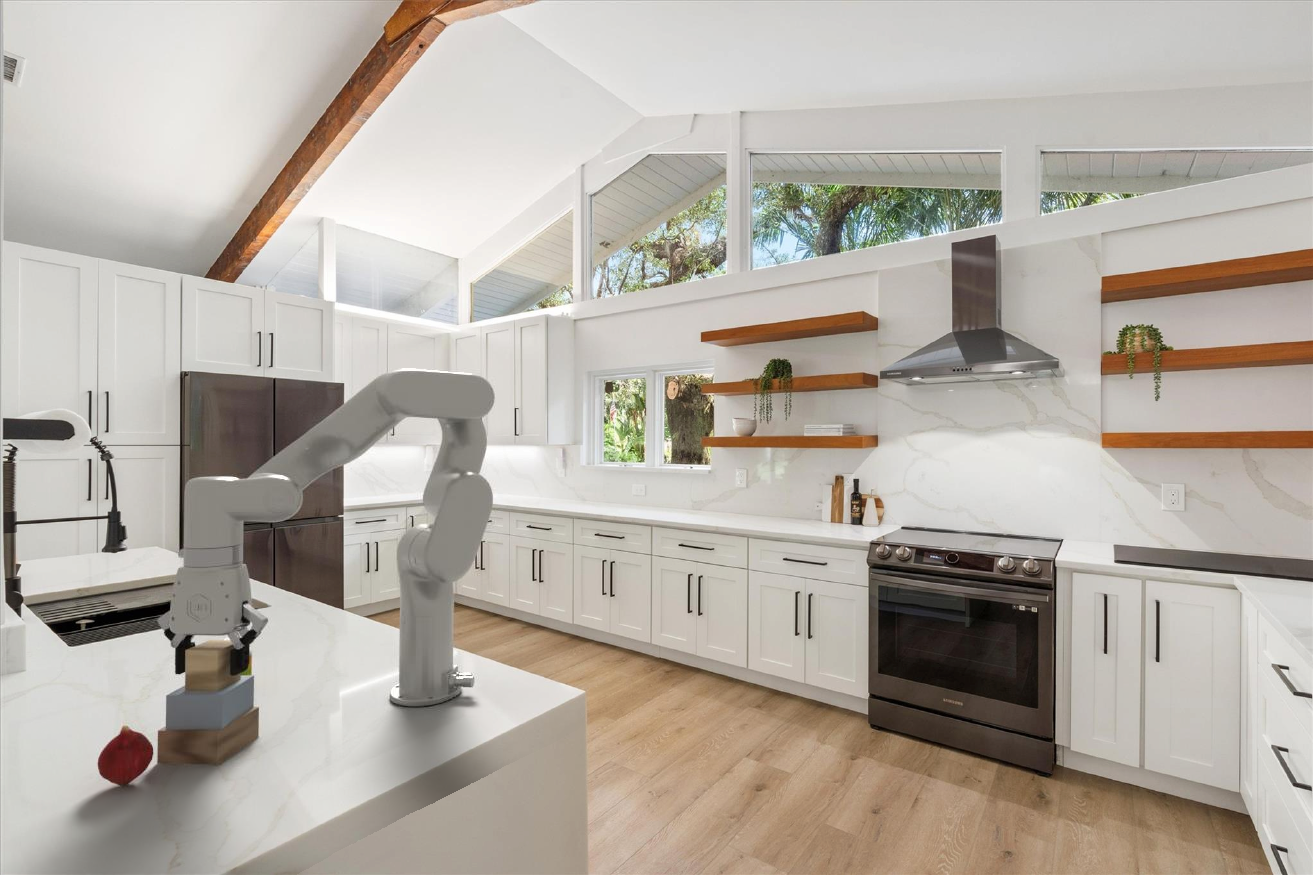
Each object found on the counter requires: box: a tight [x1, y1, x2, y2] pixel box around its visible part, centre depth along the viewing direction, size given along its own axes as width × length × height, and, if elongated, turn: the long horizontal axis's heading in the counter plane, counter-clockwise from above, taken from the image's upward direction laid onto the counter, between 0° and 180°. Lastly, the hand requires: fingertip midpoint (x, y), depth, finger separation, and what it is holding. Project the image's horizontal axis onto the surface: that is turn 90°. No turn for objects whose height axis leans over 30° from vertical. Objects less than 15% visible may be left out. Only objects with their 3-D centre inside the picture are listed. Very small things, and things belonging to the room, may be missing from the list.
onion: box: [97, 725, 154, 787], centre depth 87 cm, size 6×6×8 cm
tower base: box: [156, 706, 260, 766], centre depth 97 cm, size 9×9×5 cm
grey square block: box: [165, 674, 255, 730], centre depth 98 cm, size 8×8×5 cm
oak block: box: [184, 639, 241, 691], centre depth 98 cm, size 5×5×6 cm
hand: (212, 671), depth 98 cm, fingers open, 8 cm apart
